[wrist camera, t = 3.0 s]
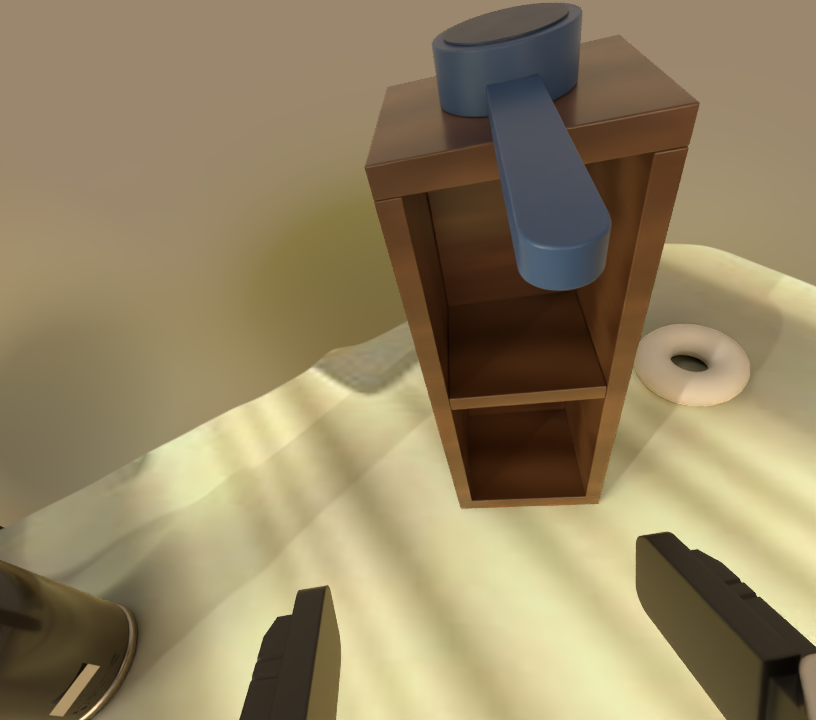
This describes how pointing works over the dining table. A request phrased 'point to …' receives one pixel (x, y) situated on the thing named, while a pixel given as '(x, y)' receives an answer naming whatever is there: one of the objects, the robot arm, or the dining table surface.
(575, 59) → the blue elongated piece
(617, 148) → the shelf
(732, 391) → the donut
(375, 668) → the dining table surface
